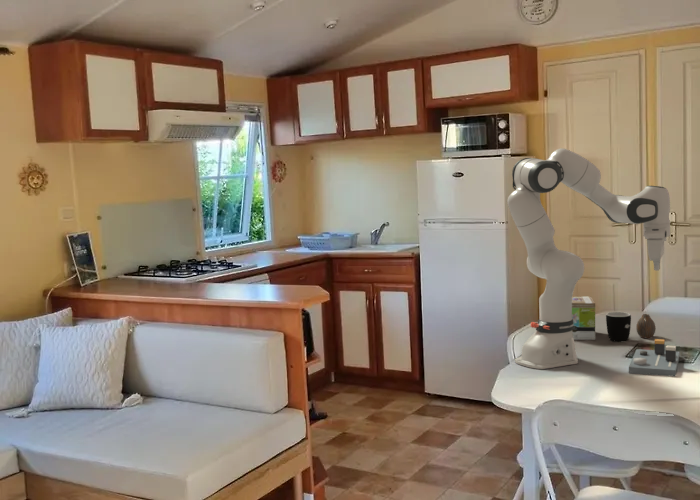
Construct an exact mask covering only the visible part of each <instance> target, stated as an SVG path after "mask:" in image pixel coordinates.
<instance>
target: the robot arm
mask: <svg viewBox="0 0 700 500" xmlns="http://www.w3.org/2000/svg"><path fill="white" fill-rule="evenodd" d="M511 171H512V173H511V176H512V177H511V178H512V189H514V190H513V191H512V192H511V193H510V194H509V195H508V197H507V201H506V202H507V208H508V210H509V213H510V216H511V218H512V220H513V222H514V226H515V227H516V229H517V230H518V232H519V235H520V237H521V239H522V240H523V243H524V245H525V248H526V249H525V250H526V252H527V257H526V267H527V270H528V271H529V272H530V273H531V274H533V275H534V276H536V277H538V278H540V279H544V280H546V282H545V289H544V291H543V293H541V295H540V296H539V298H538V303H539V304H538V307H539V308H538V309H539V313H538V314H539V319H538V320H537V322H534V321H531V322H530V326H531V328H534V329H535V331H534V332H533V333H532V335H531V336H530V337H529V338H528V339H527V340H525V342H524V343H523V345H522V347H521V356H518V357H516V358H515V359H514V363H516V364H517V365H520V366H522V367H527V368H531V369H537V370H545V369H551V368H559V367H564V366H570V365H576V364H579V359H578V356H577V351H576V344H575V340H574V338H573V332H572V330H573V325H574V324H573V319H572V297H573V294H574V291H575V287H576V285H577V282H578V281H579V280H581V278H582V277H583V275H584V272H585V264H584V261H583V259H582V258H581V257H580V256H578V255H577V254H575V253H574V252H570V251H567V250H561V249H559V248H558V247H557V246H556V244H555V241H554V236H555V233H556V229H555V227H554V225H553V223H552V222H551V220H550V217H549V216H548V214H547V211H546V210H545V208H544V206H543V204H542V201H541V194H546V193H550V192H552V191H554V190H555V189H556V188H557V186H558V185H559V184H560V183H562V184H563V185H564V186H566V187H567V188H569V189H570V190H573V191H574V192H576V193H579V194H581V195H582V196H585V198H587V199H588V200H589V201H591V202H592V203H594V204H595V205H596V206H598V207H599V208H600V209H601V210H602V211H603V213H604V215H606V218H608V219H609V221H610V222H612V223H616V224H632V225H640V224H643V231H642V232H643V237H644V239H646V246H647V255H648V259H649V261H652V262H653V263H652V264H653V271H659V270H660V269H661V259H662V257H663V255H664V254H665V242H667V238H668V237H670V236H671V220H670V212H671V200H670V193H669V190H668V189H667V188H666V187H664V186H660V185H659V186H658V185H646V186H644V189H642V190H641V191H640V192H638V193H636V194H634V195H632V196H630V195H628V196H627V195H621V194H614V193H612V192H611V191H610V190H608V189H606V188H605V187H604V186H602V185H601V184H600V183H601V179H602V176H601V175H602V174H601V171H600V169H599V168H598V167H597V166H596V165H595V164H594V163H592V162H591V161H590V160H589V159H587V158H585V157H583V156H582V155H580V154H578V153H576V152H574V151H572V150H569V149H567V148H562V147H561V148H557V149H555V150H553V152H552V153H551V154H550V155H549V157H548V158H546V160H545V159H542V158H541V159H540V158H532V157H525V158H522V159H520V160H518V161H517V162H515V164H514V165H513V168H512V170H511Z"/></svg>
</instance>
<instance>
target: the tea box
mask: <svg viewBox="0 0 700 500" xmlns="http://www.w3.org/2000/svg"><path fill="white" fill-rule="evenodd" d="M572 319H573V324H574V325H573V330H572V332H573V338H574V341H575V340H576V341H579V340H580V341H581V340H582V341H591V340H593V341H594V340H596V302H595V301H594V299H593V298H592V296H572Z"/></svg>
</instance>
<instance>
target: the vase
mask: <svg viewBox="0 0 700 500" xmlns="http://www.w3.org/2000/svg"><path fill="white" fill-rule="evenodd" d="M636 334H637V335H638V336H639V337H640V338H643V339H650V338H653V337H654V335H655V334H656V323H655V322H654V320H653V319H652V318H651V316H650V314H647V313H643V314H642V315H641V317H640V318H639V319H638V320H637V322H636Z"/></svg>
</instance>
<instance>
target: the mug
mask: <svg viewBox="0 0 700 500" xmlns="http://www.w3.org/2000/svg"><path fill="white" fill-rule="evenodd" d="M605 321H606V322H605V323H606V330H607V336H608V339H609V341H610V342H614V343H624V342H627V341H628V340H629V338H630V335H631V328H632V327H631V326H632V325H631V324H632V315H631V313H630V312H625V311H611V312H607V313H606V314H605Z"/></svg>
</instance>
